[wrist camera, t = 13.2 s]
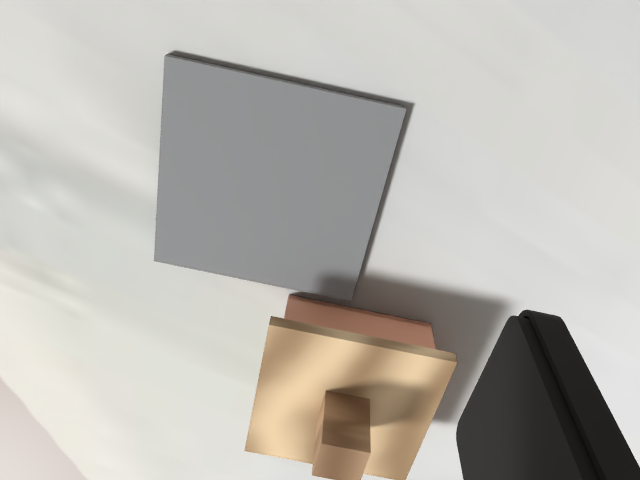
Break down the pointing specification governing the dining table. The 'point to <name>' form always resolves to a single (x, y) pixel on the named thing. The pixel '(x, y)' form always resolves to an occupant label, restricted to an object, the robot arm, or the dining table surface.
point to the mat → (269, 177)
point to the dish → (359, 321)
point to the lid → (345, 400)
